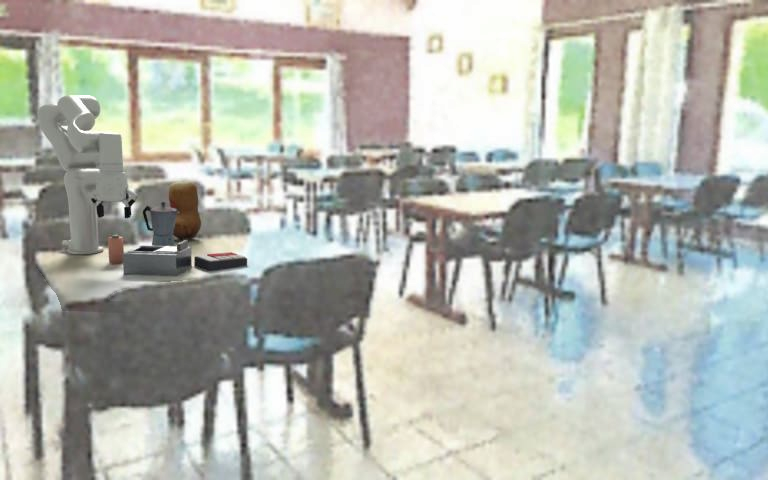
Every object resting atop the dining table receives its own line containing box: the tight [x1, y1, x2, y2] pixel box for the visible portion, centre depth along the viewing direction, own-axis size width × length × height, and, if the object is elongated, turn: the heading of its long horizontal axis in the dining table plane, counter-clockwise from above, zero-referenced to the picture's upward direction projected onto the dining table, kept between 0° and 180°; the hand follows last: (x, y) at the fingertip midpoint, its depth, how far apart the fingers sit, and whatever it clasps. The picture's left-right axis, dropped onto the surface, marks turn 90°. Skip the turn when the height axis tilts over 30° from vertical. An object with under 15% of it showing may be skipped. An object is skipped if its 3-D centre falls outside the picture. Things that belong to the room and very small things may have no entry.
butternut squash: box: [168, 179, 202, 241], centre depth 281 cm, size 14×13×25 cm
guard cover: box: [156, 240, 190, 253], centre depth 226 cm, size 8×8×3 cm
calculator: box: [193, 251, 248, 272], centre depth 237 cm, size 11×4×15 cm
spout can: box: [107, 234, 125, 265], centre depth 238 cm, size 5×6×10 cm
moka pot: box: [142, 201, 179, 246], centre depth 252 cm, size 10×15×20 cm, turn 78°
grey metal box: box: [122, 244, 193, 277], centre depth 228 cm, size 18×14×7 cm
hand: (114, 217), depth 235 cm, fingers open, 9 cm apart
